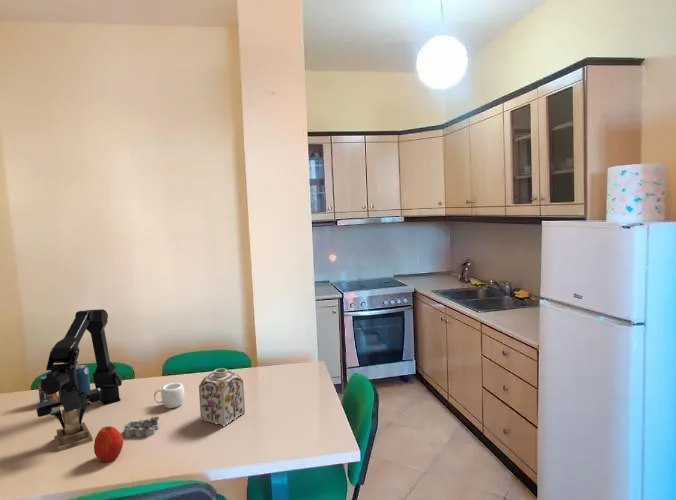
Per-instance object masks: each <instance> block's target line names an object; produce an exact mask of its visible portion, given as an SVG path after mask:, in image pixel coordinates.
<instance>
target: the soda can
mask: <svg viewBox="0 0 676 500" xmlns="http://www.w3.org/2000/svg"><path fill="white" fill-rule="evenodd" d="M75 366H76V374H77V384H78V391H79V392H83V391H88V390H91V383H90V371H89V367H88V366H87V364H85V363H81V364H76V365H75Z"/></svg>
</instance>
